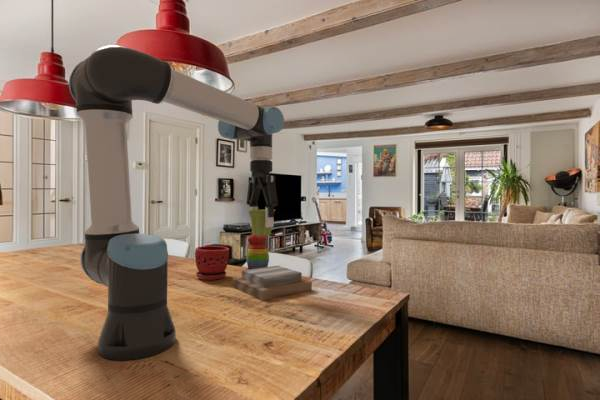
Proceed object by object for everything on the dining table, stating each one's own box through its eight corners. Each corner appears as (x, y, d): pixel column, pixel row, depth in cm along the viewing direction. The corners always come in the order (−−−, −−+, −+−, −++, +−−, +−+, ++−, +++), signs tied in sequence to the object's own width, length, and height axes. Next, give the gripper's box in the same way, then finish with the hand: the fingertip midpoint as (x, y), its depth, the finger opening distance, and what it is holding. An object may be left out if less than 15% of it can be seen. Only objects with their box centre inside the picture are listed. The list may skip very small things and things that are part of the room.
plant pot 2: (244, 236, 115) (244, 210, 114) (252, 233, 124) (252, 209, 124) (271, 237, 113) (271, 210, 113) (277, 233, 123) (277, 209, 122)
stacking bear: (251, 270, 152) (251, 229, 152) (273, 271, 149) (273, 230, 149) (240, 275, 142) (240, 231, 142) (262, 277, 139) (262, 232, 139)
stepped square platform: (311, 290, 120) (311, 272, 120) (261, 300, 108) (261, 281, 108) (279, 279, 136) (279, 263, 136) (232, 286, 124) (232, 270, 124)
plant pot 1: (211, 283, 129) (211, 250, 129) (188, 278, 136) (188, 247, 136) (236, 276, 140) (236, 246, 140) (213, 272, 147) (213, 244, 147)
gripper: (289, 158, 112) (289, 227, 112) (254, 163, 129) (255, 223, 130) (269, 156, 107) (269, 229, 108) (236, 162, 125) (236, 224, 125)
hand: (261, 226), depth 119 cm, fingers closed on plant pot 2, 9 cm apart
